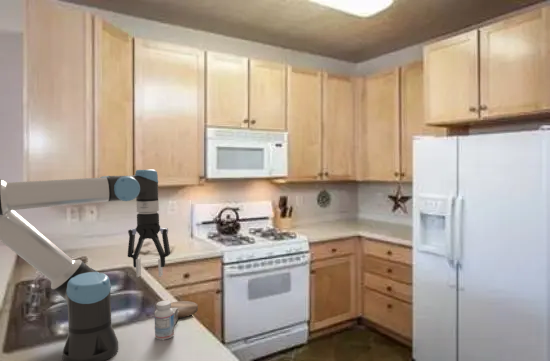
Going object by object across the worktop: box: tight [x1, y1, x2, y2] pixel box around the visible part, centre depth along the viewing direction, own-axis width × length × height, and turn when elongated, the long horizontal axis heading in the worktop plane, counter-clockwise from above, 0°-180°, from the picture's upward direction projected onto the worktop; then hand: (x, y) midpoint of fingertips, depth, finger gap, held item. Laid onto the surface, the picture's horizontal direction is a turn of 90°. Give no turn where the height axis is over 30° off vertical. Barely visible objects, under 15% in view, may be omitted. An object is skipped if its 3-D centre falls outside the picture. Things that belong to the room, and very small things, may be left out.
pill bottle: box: [153, 300, 175, 341], centre depth 126 cm, size 6×6×11 cm
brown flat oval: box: [170, 300, 199, 326], centre depth 144 cm, size 20×14×4 cm
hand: (149, 275), depth 137 cm, fingers open, 7 cm apart
